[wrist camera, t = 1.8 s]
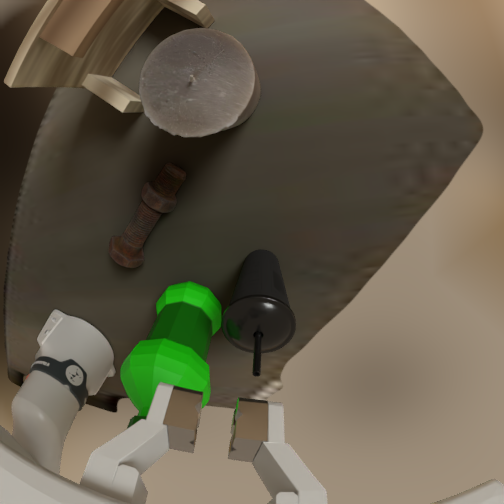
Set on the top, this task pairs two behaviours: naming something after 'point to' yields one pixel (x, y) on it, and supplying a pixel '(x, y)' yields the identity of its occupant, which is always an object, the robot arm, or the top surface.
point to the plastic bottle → (173, 346)
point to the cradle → (91, 44)
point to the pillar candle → (199, 83)
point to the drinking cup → (259, 309)
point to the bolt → (147, 216)
